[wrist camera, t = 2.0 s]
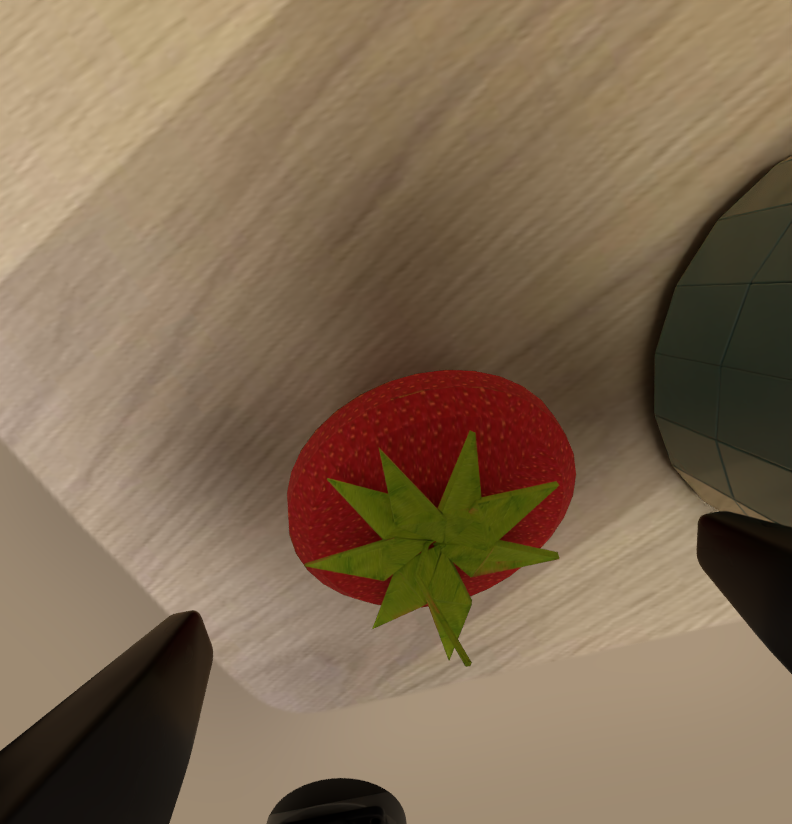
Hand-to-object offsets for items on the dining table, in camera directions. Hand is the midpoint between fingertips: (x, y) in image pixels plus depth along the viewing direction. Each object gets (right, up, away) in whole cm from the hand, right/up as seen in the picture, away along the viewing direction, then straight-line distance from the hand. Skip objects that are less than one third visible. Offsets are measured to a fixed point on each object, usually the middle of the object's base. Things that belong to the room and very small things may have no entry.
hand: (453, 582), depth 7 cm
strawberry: (-1, +3, +9) cm, 9 cm away
